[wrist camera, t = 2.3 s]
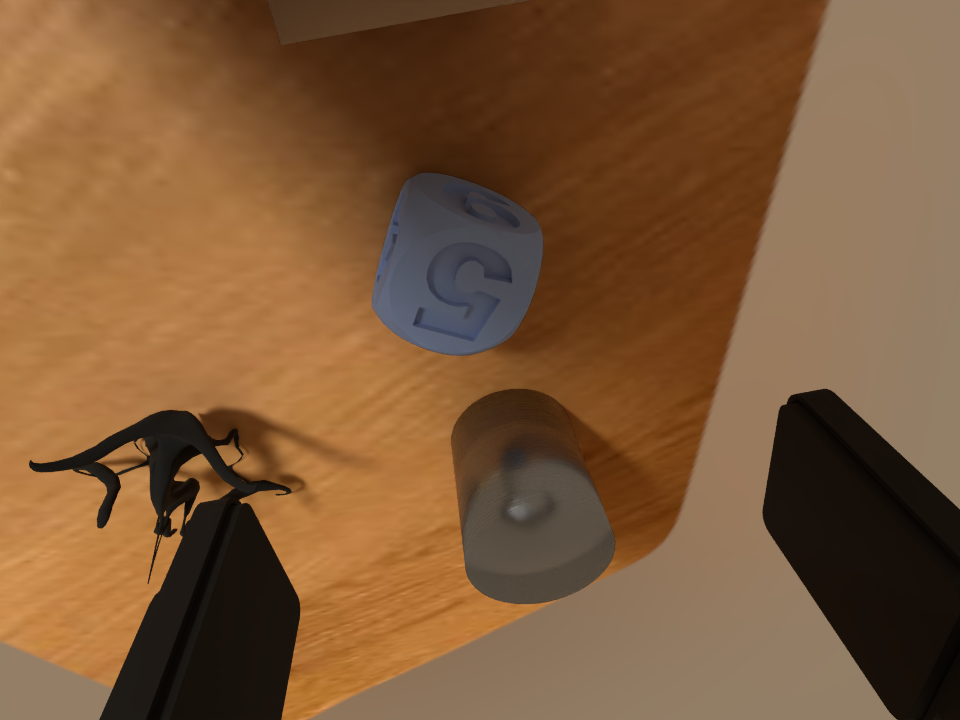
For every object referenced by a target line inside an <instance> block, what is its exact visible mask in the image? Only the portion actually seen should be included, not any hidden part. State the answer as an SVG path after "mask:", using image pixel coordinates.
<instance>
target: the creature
mask: <svg viewBox="0 0 960 720" xmlns="http://www.w3.org/2000/svg"><path fill="white" fill-rule="evenodd" d="M140 438H144V440H145V443H146V445H145V446H146V447H147V448H148V450H149V452H150V457H149V456H148V455H146V454H145V453H143V452H142V451H141V450H140V449H139V448H138V446H137V445H136V443H135V442H136V441H137V440H138V439H140ZM233 438H234V442H235V447H236V448H237V449H238V451H239V452H240V453H241V455H242V456H243V453H242V451H241V450H240V449H239V443H238V441H239V436H238V431H237V429H233V430H232V431H230V432H229V434H228V436H227V437H226V438H225V439H223V440H216V439H213V438H211V437H210V436H209V435H208V434H207V432H206V431H205V429H204V427H203V425H202V424H201V423H200V421H199V420H198V419H197V418H196V417H195V416H194V415H193V414H192V413H190V412H188V411H177V410H166V411H160V412H158V413H155V414H152V415H149V416H148V417H146V418H144V419H143V420H141V421H139V422H137V423H136V424H134V425H132V426H130V427H128V428H126V429H123V430H121V431H119V432H117V433H115V434H113V435H112V436H110V437H108V438H106V439H105V440H103V441H102V442H100V443H99V444H97V445H96V446H94V447H92V448H90V449H88V450H86V451H84V452H82V453H80V454H77V455H75V456H73V457H70V458H67V459H63V460H59V461H55V462H48V463H41V464H40V463H33V462H32V461H31V460H30V462H29V466H30V468H31V469H32V470H33V471H36V472H55V471H64V470H70V469H73V471H75V472H77V473H81V474H85V475H89V476H94V477H97V478H98V479H99V480H100V481H101V482H103V483H104V484H105V485H106V487H107V495H106V497H105V499H104V501H103V503H102V505H101V507H100V509H99V512H98V517H97V527H98V528H103V527H104V526H105V525H106V524H107V522H108V520H109V517H110V514H111V511H112V507H113V504H114V502H115V500H116V498H117V494H118V492H119V490H120V488H121V485H120V480H119V477H118V475H121V474H123V473H126V472H128V471H130V470H133V469H135V468H138V467H142V466H146V465H149V466H150V495H151V500H152V503H153V506H154V508H155V510H156V513H157V515H158V519H157V523H156V527H155V530H154V533H156V534H157V535H158V536H157V541H156V545H155V550H154V555H153V560H152V564H151V569H150V574H149V579H148V584H149V580H150V576H151V572H152V568H153V564H154V560H155V557H156V553H157V550H158V547H159V543H160V540H161V537H162V535H163V536H165V537H171V536H172V535H173V534H174V533H175V532H176V531H177V529H173V530H172V531H171V519H170V518H169V516H170V515H171V513H172V512H173V511H174V510H175V509H176V508H177V507H178V506H180V505H181V504H183V503H184V502H185V507H184V520H183V524H182V528H181V531H180V535H181V536H182V537H183V536H184V533H185V531H186V529H187V526H188V524H189V522H190V520H189V521H187V523H186V525H185V521H186V517H187V515H188V514H189V513H190V510H191V508H192V505H193V503H194V501H195V499H196V496H197V494H198V491H199V489H200V485H199V482H198V481H197V480H196V479H195V478H189V479H188V480H187V481H185V482H182V481H175V480H174V477H175V475H176V474H177V472H178V470H179V468H180V467H181V466H182V465H183V464H184V463H186V462H187V461H188V460H190V459H191V458H193V457H195V456H197V455H199V454H203V455H204V456H205V458H206V459H207V460H208V462H209V463H210V464H211V466H212V467H213V469H214V470H215V471H216V473H217V474H218V475H219V476H220V477H221V478H222V479H223V480H224V481H225V482H227V483H228V484H230V485H231V486H233V487H235V489H233V490H231V491H230V492H229V493H228V494H226V495H225V496H223V497H222V498H220V499H224V498H229V497H236V498H237V499H238V500H239V499H242V498H244V497H247V496H249V495H252V494H254V493H256V492H258V491H268V490H283V491H286V492H287V493H286V494H276V495H287V494H290V493H291V489H290V488H288V487H286V486H283V485H279V484H276V483H273V482H270V481H266V480H261V481H253V482H249V481H247V480H246V479H244V478H242V477H241V476H239V475H237V474H236V473H235V472H234V471H233V470H231V469H232V465H234V464H235V463H234V464H232V465H230V466H227V465H226V464H225V462H224V461H223V459H222V458H221V456H220V454H219V453H218V451H217V449H216V448H215V446H221V445H228V444H229V443H230V442H231V440H232V439H233ZM133 440H134V444H135V446H136V448H137V449H138V450H140V451H141V452H142V453H143V454H145V455H146V456H147V461H146V462H144V463H142V464H140V465H138V466H135V467H132V468H129V469H126V470H123V471H121V472H119V473H116V474H115V473H114V472H113V471H112V470H111V469H109V468H108V467H106V466H105V465H103V464H100V463H98V462H95V461H97V460H99V459H101V458H103V457H105V456H106V455H108V454H109V453H111V452H112V451H114V450H115V449H117V448H119V447H121V446H122V445H124V444H126V443H128V442H131V441H133ZM242 456H241V458H242ZM241 458H240V459H239V460H238V461H237V462H239V461H240V460H241ZM93 462H94V463H93ZM237 462H236V463H237ZM79 470H86V471H88V472H90V473H92V474H94V475H91V474H87V473H83V472H80V471H79ZM239 478H240V479H239ZM241 479H242V480H243V481H245V482H246V483H245V482H243V481H242V480H241ZM165 510H166V516H164V512H165ZM159 519H160V522H159ZM159 535H161V537H160V540H159V543H158V539H159ZM157 543H158V546H157ZM156 547H157V549H156ZM155 551H156V552H155Z"/></svg>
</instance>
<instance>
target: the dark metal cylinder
mask: <svg viewBox="0 0 960 720" xmlns="http://www.w3.org/2000/svg"><path fill="white" fill-rule="evenodd" d="M451 446H452V455H453V464H454V473H455V481H456V490H457V499H458V507H459V516H460V525H461V533H462V542H463V551H464V560H465V568H466V573H467V576H468V579H469V580H470V582H471V583H472V585H473V586H474V587H475V588H476V589H477V590H479V591H480V592H481V593H483V594H484V595H486V596H488V597H490V598H493V599H495V600H498V601H502V602H507V603H514V604H536V603H543V602H549V601H553V600H557V599H560V598H563V597H566V596H568V595H571V594H573V593H575V592H577V591H579V590H581V589H583V588H584V587H586V586H588V585H589V584H590V583H592V582H593V581H594V580H596V579H597V578H598V577H599V576H600V575H601V574H602V573H603V572H604V570H605V569H606V568H607V566H608V565H609V563H610V562H611V559H612V557H613V554H614V551H615V537H614V534H613V531H612V529H611V526H610V524H609V521H608V518H607V516H606V513H605V511H604V508H603V506H602V503H601V500H600V498H599V495H598V493H597V490H596V487H595V485H594V482H593V480H592V477H591V475H590V472H589V469H588V467H587V464H586V462H585V459H584V457H583V454H582V451H581V449H580V446H579V444H578V441H577V439H576V436H575V433H574V431H573V428H572V426H571V423H570V420H569V418H568V415H567V413H566V412H565V410H564V408H563V407H562V406H561V405H560V404H559V403H558V402H557V401H556V400H554V399H553V398H551V397H550V396H548V395H546V394H544V393H541V392H538V391H533V390H528V389H509V390H503V391H499V392H495V393H492V394H490V395H487V396H485V397H483V398H481V399H479V400H478V401H476V402H474V403H473V404H472V405H470V406H469V407H468V408H467V409H466V410H465V411H464V412H463V413H462V414H461V416H460V417H459V418H458V420H457V422H456V424H455V426H454V428H453V431H452V436H451Z"/></svg>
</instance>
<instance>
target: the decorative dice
mask: <svg viewBox="0 0 960 720" xmlns="http://www.w3.org/2000/svg"><path fill="white" fill-rule="evenodd" d="M542 256H543V235H542V231H541V228H540V225H539V223H538V221H537V220H536V219H535V218H534V217H533V215H531V214H530V213H529V212H528V211H527V210H525V209H524V208H523V207H521V206H520V205H518V204H517V203H515V202H513V201H512V200H510V199H508V198H506V197H504V196H503V195H501V194H499V193H497V192H494V191H492V190H490V189H488V188H485V187H483V186H481V185H478V184H475V183H473V182H470V181H467V180H464V179H460V178H457V177H453V176H449V175H444V174H438V173H420V174H418V175H416V176H414V177H412V178H409V179H407V180H406V181H405V183H404V185H403V187H402V189H401V192H400V194H399V197H398V200H397V202H396V205H395V208H394V211H393V214H392V218H391V221H390V224H389V227H388V231H387V234H386V238H385V241H384V245H383V249H382V253H381V257H380V261H379V265H378V269H377V274H376V279H375V284H374V289H373V296H372V307H373V309H374V311H375V312H376V314H377V315H378V317H379V318H380V320H381V321H382V322H383V323H384V324H385V325H386V326H387V327H388V328H389V329H390V330H391V331H392V332H394V333H395V334H397V335H398V336H400V337H401V338H403V339H405V340H406V341H408V342H410V343H412V344H414V345H416V346H419V347H421V348H424V349H427V350H430V351H433V352H437V353H441V354H447V355H456V356H465V355H472V354H476V353H480V352H484V351H486V350H489V349H491V348H494V347H496V346H497V345H499V344H501V343H503V342H504V341H506V340H507V339H509V338H510V337H511V336H512V335H513V334H514V332H515V331H516V330H517V328H518V327H519V325H520V323H521V322H522V320H523V318H524V316H525V314H526V312H527V310H528V308H529V305H530V303H531V300H532V297H533V295H534V292H535V289H536V285H537V282H538V278H539V274H540V269H541V264H542Z"/></svg>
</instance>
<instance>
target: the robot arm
mask: <svg viewBox="0 0 960 720" xmlns="http://www.w3.org/2000/svg"><path fill="white" fill-rule="evenodd" d="M763 519H764V523H765V526H766V528H767V530H768V531H769V533H770V535H771V536H772V538H773V539H774V540H775V542H776V544H777V545H778V547H779V548H780V550H781V551H782V553H783V554H784V556H785V557H786V559H787V560H788V562H789V563H790V565H791V566H792V568H793V569H794V571H795V572H796V573H797V575H798V576H799V578H800V579H801V581H802V582H803V584H804V585H805V587H806V588H807V590H808V591H809V593H810V594H811V596H812V597H813V599H814V600H815V602H816V603H817V605H818V606H819V608H820V609H821V611H822V612H823V614H824V615H825V617H826V618H827V620H828V621H829V623H830V624H831V626H832V627H833V629H834V630H835V631H836V633H837V635H838V636H839V638H840V639H841V641H842V642H843V644H844V645H845V646H846V648H847V650H848V651H849V652H850V654H851V656H852V657H853V658H854V660H855V662H856V663H857V665H858V666H859V668H860V669H861V671H862V672H863V673H864V675H865V677H866V678H867V680H868V681H869V682H870V684H871V685H872V687H873V688H874V690H875V691H876V693H877V694H878V696H879V697H880V699H881V700H882V702H883V703H884V705H885V706H886V708H887V709H888V710H889V712H890V713H891V714H892V715H893V716H894V717H895V718H896V719H897V720H960V509H959V508H958V507H957V506H955V505H954V504H953V503H952V502H951V501H950V500H949V499H948V498H947V497H946V496H945V495H944V494H942V492H940V491H939V490H938V489H937V488H936V487H935V486H934V485H933V484H932V483H931V482H930V481H929V480H927V479H926V478H925V477H924V476H923V475H922V474H921V473H920V472H919V471H918V470H917V469H916V468H915V467H914V466H913V465H911V464H910V463H909V462H908V461H907V460H906V459H905V458H904V457H903V456H902V455H901V454H900V453H899V452H897V451H896V450H895V449H894V448H893V447H892V446H891V445H890V444H889V443H888V442H887V441H885V440H884V439H883V438H882V437H881V436H880V435H879V434H878V433H877V432H876V431H875V430H874V429H873V428H872V427H871V426H870V425H868V424H867V423H866V422H865V421H864V420H863V419H862V418H861V417H860V416H859V415H858V414H856V413H855V412H854V411H853V410H852V409H851V408H850V407H849V406H848V405H847V404H846V403H845V402H844V401H842V399H840V398H839V397H838V396H837V395H836V394H835V393H834V392H832V391H831V390H828V389H821V390H816V391H810V392H804V393H799V394H795V395H791V396H790V397H789V399H788V402H787V404H786V405H782V406H781V407H780V410H779V414H778V419H777V426H776V432H775V438H774V444H773V450H772V456H771V462H770V468H769V475H768V480H767V486H766V493H765V499H764V505H763ZM299 619H300V603H299V598H298V596H297V594H296V592H295V590H294V588H293V586H292V584H291V582H290V580H289V578H288V576H287V574H286V572H285V571H284V569H283V567H282V565H281V563H280V561H279V559H278V557H277V555H276V553H275V551H274V549H273V548H272V546H271V544H270V542H269V540H268V538H267V536H266V534H265V532H264V530H263V528H262V526H261V525H260V523H259V521H258V519H257V517H256V515H255V513H254V511H253V509H252V507H251V506H250V505H249V504H248V503H243V504H241V502H240V501H239V500H238V499H237V498H236V497H229V498H224V499H218V500H213V501H207V502H202V503H200V504H198V505H197V507H196V508H195V510H194V512H193V515H192V517H191V519H190V522H189V524H188V526H187V529H186V531H185V533H184V536H183V538H182V540H181V543H180V545H179V547H178V550H177V552H176V554H175V557H174V559H173V561H172V564H171V566H170V568H169V571H168V573H167V575H166V578H165V580H164V582H163V585H162V587H161V589H160V591H159V592H158V593H157V594H156V595H155V596H154V598H153V600H152V601H151V603H150V605H149V607H148V609H147V611H146V614H145V616H144V618H143V621H142V623H141V625H140V628H139V630H138V632H137V634H136V637H135V639H134V641H133V644H132V646H131V648H130V651H129V653H128V655H127V657H126V660H125V662H124V664H123V667H122V669H121V671H120V673H119V676H118V678H117V680H116V683H115V685H114V687H113V690H112V692H111V694H110V697H109V699H108V701H107V703H106V706H105V708H104V710H103V713H102V715H101V717H100V720H281V718H282V712H283V707H284V701H285V696H286V690H287V685H288V680H289V674H290V669H291V663H292V658H293V652H294V647H295V641H296V636H297V630H298V625H299Z"/></svg>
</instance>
